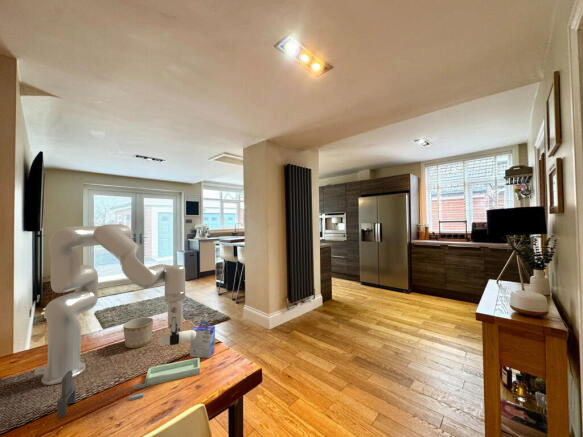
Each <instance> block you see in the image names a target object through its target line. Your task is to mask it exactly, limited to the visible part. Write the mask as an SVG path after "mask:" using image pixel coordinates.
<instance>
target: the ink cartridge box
mask: <svg viewBox="0 0 583 437" xmlns="http://www.w3.org/2000/svg"><path fill="white" fill-rule="evenodd" d="M208 324H209V321H204V320H201V321H200V323H199V325H195V326H194V327H192V329H190V330H194V331H195V332H196V337H195V339H194V340H191V341H189V344H190V345H189V357H191V358H192V357H193V358H199V357H200V358H209V359H210V358H211V357H212V356H213V355H214V353H215V352H216V325H208Z"/></svg>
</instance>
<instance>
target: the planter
mask: <svg viewBox="0 0 583 437" xmlns="http://www.w3.org/2000/svg"><path fill="white" fill-rule="evenodd" d="M153 324H154V319H153V318H152V317H139V318H135V319H134V318H133V319H131V320H129V321H126V322H125V323H124V324H123V337H124V345H125V347H126V348H128V349H137V348H142V347H144V346H146V345H147V344H149V343H150V341H152V335H153V334H152V333H153Z"/></svg>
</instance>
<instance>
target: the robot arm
mask: <svg viewBox="0 0 583 437" xmlns="http://www.w3.org/2000/svg"><path fill="white" fill-rule="evenodd" d="M132 237H133V232H132V230H131V229H130V227H129V226H128V225H125V224H122V223H121V224H118V223H117V224H114V223H113V224H112V223H111V224H110V223H109V224H103V225H98V226H97V225H95V226H94V225H93V226H92V225H90V226H88V225H87V226H84V225H83V226H67V227H63V228H60V229H58V230H56V231H54V232H53V234H52V235H51V236H50V238H49V240H48V251H49V255H50V287H51V290H52V292H54V293H57V294H62V293H67V294H64V295H61V296H58V297H56V298H54V299H52V300H51V301H49V303H47V304H46V306H45V308H44V316H45V317H44V318H45V320H46V324H47V365H46V366H41V367H35V369H34V376H35V377H37V376H38V377H39V376H42V377H41V384H43V385H47V386H48V385H50V386H51V385H56V384H60V383H61V384H62V378H63V377H64V376H65V375H66V373H67V372H68V371H71V370H72V379H73V378H75V377H77V376H79V375H81V374H82V373H83V372H84V371H85V370H86V363H85V362H82V361H81V359H82V358H81V356H82V354H81V350H82V348H81V347H82V346H81V345H82V344H81V343H82V326H81V323H80V321H79V320H78V319H77V316H79V315H80V314H81V315H82V314H83V313H85V312H88V311H89V310H91V309H93V308H95V306H96V304H97V302H98V299H99V297H98V296H99V274H98V271H97V270H96V268H95V267H94V266H92V265H90V264H81V257H80V254H79V252H78V250H77V248H83V247H85V248H86V247H92V246H93V247H94V246H101V247H102V248H104V249H105V250H107V252H109V253H110V254H112V256H114V257H115V258H116V259H118V261H119V265H120V268H121V271H122V273H123V274H124V276H125V277H126V278H128V279H129V280H130V281H131V282H132V283H134V284H135V285H137V286H138V287H140V288H144V289H150V288H153V287H155V286H157V285H159V284H162V283H164V302H165V303H167V327H168V329H170V333H169V334H170V345H169V346H175V345H179V333H178V332H181V328H180V327H182V326H183V324H184V323H183V321H184V302H183V301H185V299H186V267H185V266H184V265H181V264H174V265H169V264H164V263H163V264H162V263H161V264H160V263H159V264H155V265H152V266H146V265H145V264H143V263H142V262H141V261H140V260H139V259H138V257H137V253H138V252H139V250H140V245H139V244H138V243H136V242H135V241H134V240H133V239H132ZM72 291H73V292H72ZM68 292H69V293H68Z"/></svg>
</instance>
